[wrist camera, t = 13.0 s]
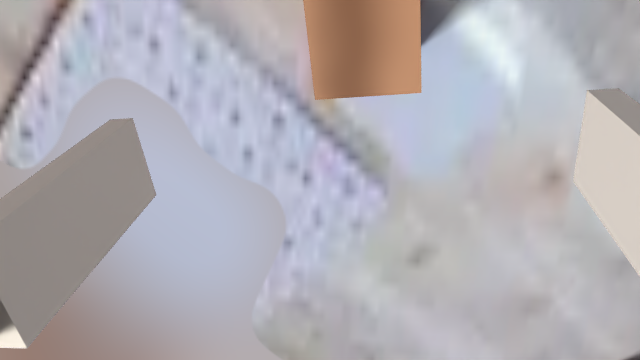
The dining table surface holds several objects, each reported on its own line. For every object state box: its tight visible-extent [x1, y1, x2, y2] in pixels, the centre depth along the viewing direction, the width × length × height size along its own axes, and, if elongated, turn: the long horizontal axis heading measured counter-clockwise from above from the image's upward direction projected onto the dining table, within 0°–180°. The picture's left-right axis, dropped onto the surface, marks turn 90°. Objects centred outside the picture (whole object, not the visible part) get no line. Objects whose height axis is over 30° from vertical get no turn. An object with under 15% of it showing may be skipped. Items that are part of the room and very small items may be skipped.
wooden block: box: [303, 0, 421, 100], centre depth 30 cm, size 6×6×9 cm
